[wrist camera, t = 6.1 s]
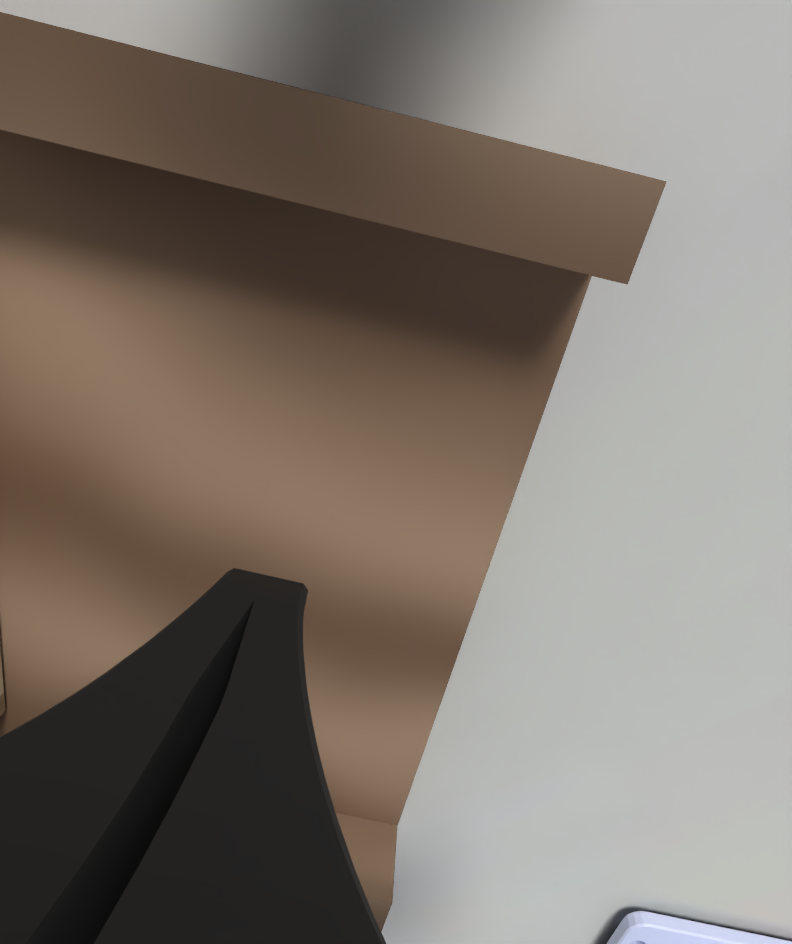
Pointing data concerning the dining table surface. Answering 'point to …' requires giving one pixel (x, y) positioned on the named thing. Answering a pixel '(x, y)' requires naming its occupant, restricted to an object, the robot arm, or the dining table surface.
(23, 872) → the robot arm
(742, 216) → the dining table surface
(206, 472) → the bay
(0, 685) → the light wooden drawer
